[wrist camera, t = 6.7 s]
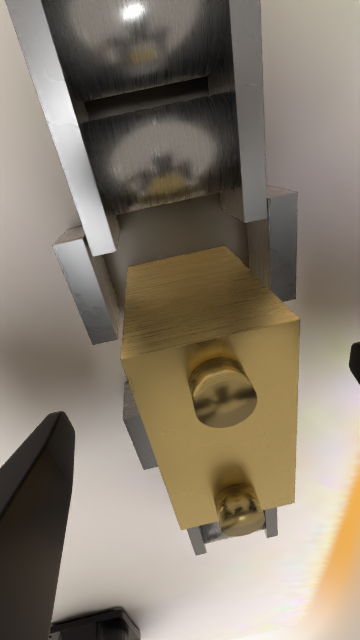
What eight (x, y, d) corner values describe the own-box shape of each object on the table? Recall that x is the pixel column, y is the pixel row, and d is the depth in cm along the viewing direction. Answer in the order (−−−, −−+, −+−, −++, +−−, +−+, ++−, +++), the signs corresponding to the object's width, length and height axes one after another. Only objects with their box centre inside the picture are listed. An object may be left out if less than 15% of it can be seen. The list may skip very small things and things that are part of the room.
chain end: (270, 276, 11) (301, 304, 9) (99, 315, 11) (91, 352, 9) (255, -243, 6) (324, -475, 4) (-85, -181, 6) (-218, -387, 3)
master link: (238, 381, 14) (306, 528, 8) (165, 398, 14) (184, 557, 8) (224, 245, 10) (320, 338, 5) (127, 266, 10) (118, 384, 5)
